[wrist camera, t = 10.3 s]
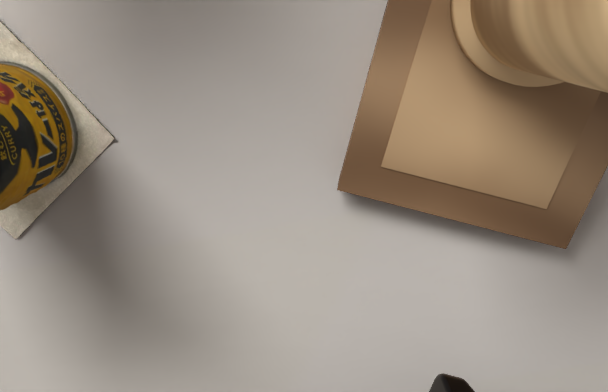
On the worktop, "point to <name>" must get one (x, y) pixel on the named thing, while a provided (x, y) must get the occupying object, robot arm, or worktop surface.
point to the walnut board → (471, 135)
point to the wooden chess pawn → (535, 40)
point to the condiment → (39, 136)
